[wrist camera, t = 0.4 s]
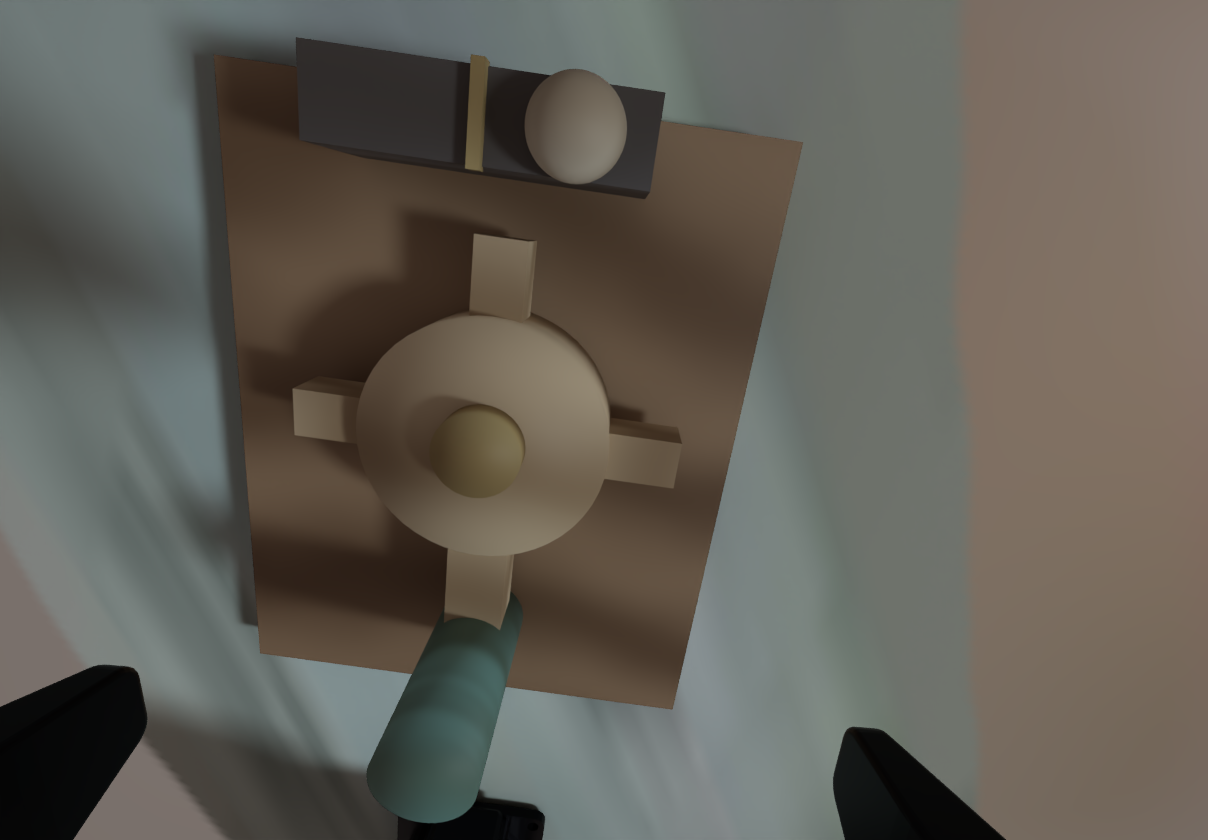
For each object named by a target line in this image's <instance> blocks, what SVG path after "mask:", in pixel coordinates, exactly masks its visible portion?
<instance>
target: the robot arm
mask: <svg viewBox="0 0 1208 840" xmlns="http://www.w3.org/2000/svg"><path fill="white" fill-rule="evenodd" d="M146 725H147V712H146V707H145V702H144V697H143V693H142V688H141V683H140V678H139V675H138V673H137V671H136V670H135V669H134V668H131V667H127V666H115V665H97V666H93V667H91V668H88V669H86V670H83V671H81V672H79V673H77V674H75V675H72V676H70V677H67V678H65V679H63V680H61V681H58V682H56V683H54V684H52V685H49V686H47V687H45V688H42V689H40V690H38V691H36V692H33V693H31V694H29V695H26V696H24V697H22V698H19V699H17V700H15V701H12V702H10V703H8V704H6V705H3V706H1V707H0V840H73V839H74V838H75V836H76V835H77V833H78V831H79V830H80V829H81V827H82V826H83V824H84V823H85V821H86V820H87V818H88V817H89V815H90V814H91V812H92V811H93V809H94V808H95V806H96V805H97V804H98V802H99V801H100V799H101V798H102V796H103V795H104V793H105V792H106V790H107V789H108V787H109V786H110V784H111V783H112V781H113V780H114V778H115V777H116V775H117V774H118V773H119V771H120V769H121V768H122V766H123V765H124V763H125V762H126V760H127V759H128V758H129V756H130V755H131V753H132V752H133V750H134V749H135V747H136V746H137V744H138V743H139V741H140V740H141V738H142V736H143V734H144V732H145V729H146ZM833 790H834V797H835V801H836V805H837V809H838V813H839V817H840V822H841V826H842V830H843V834H844V838H845V840H1006V839H1005V838H1004V837H1002V836H1001V835H1000V834H999V833H998V832H997V831H996V830H995V829H994V828H992V827H991V826H990V825H989V824H988V823H987V822H986V821H984V820H983V819H982V818H981V817H980V816H979V815H978V814H977V813H976V812H975V811H973V810H972V809H971V808H970V807H969V806H968V805H967V804H966V803H964V802H963V801H962V800H961V799H960V798H959V797H958V796H957V795H955V794H954V793H953V792H952V791H951V790H950V789H949V788H948V787H946V786H945V785H944V784H943V783H942V782H941V781H940V780H939V779H937V778H936V777H935V776H934V775H933V774H932V773H931V772H930V771H928V770H927V769H926V768H925V767H924V766H923V765H922V764H921V763H919V762H918V761H917V760H916V759H915V758H914V757H913V756H912V755H911V754H909V753H908V752H907V751H906V750H905V749H904V748H903V747H902V746H900V745H899V744H898V743H897V742H896V741H895V740H894V739H893V738H891V737H890V736H889V735H888V734H887V733H885V732H884V731H882V730H879V729H874V728H863V727H850V728H848V729H847V730H846V732H845V734H844V736H843V740H842V744H841V748H840V752H839V756H838V760H837V764H836V767H835V771H834V776H833ZM544 824H545V816H544V814H543V813H541V812H540V811H537V810H531V809H524V808H517V807H509V806H502V805H494V804H487V803H479V802H474V804H473V805H472V806H471V808H470V809H469V810H468V811H467V812H465V813H464V814H462V815H461V816H459V817H457V818H455V819H452V820H449V821H445V822H439V823H421V822H415V821H411V820H408V819H405V818H402V817H400V816H398V840H542V838H543V831H544Z"/></svg>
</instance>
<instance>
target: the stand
mask: <svg viewBox="0 0 1208 840" xmlns="http://www.w3.org/2000/svg"><path fill="white" fill-rule="evenodd" d="M296 56H297V67H294V66H287V65H281V64H274V63H267V62H260V61H254V60H247V59H240V58H234V57H227V56H220V55H214V64H215V77H216V90H217V103H218V116H219V129H220V142H221V155H222V167H223V180H224V193H225V206H226V219H227V232H228V245H229V258H230V271H231V283H232V296H233V309H234V322H235V335H236V348H237V361H238V374H239V386H240V399H241V412H242V425H243V438H244V451H245V464H246V477H247V489H248V502H249V515H250V528H251V541H252V554H253V567H254V580H255V592H256V605H257V618H258V631H259V644H260V653H262V654H269V655H277V656H284V657H291V658H299V659H306V660H313V661H321V662H328V663H335V664H343V665H350V666H357V667H365V668H372V669H379V670H387V671H394V672H401V673H408V674H412V673H413V671H414V669H415V667H416V665H417V663H418V661H419V659H420V656H421V654H422V652H423V650H424V648H425V646H426V644H427V642H428V640H429V638H430V636H431V634H432V631H433V629H434V627H435V625H436V623H437V621H438V619H439V617H440V615H441V613H442V611H443V608H444V606H445V592H446V574H447V555H448V548H445V547H443V546H440V545H438V544H436V543H434V542H431V541H429V540H427V539H426V538H424V537H422V536H421V535H419V534H417V533H416V532H414V531H413V530H411V529H410V528H409V527H407V526H406V525H405V524H403V523H402V522H401V521H400V520H399V519H398V518H397V517H396V516H395V515H394V514H393V513H392V512H391V511H390V510H389V509H388V508H387V507H386V505H385V504H384V503H383V502H382V501H381V499H380V498H379V496H378V495H377V493H376V492H375V490H374V489H373V487H372V485H371V483H370V481H369V479H368V477H367V475H366V473H365V471H364V468H363V465H362V462H361V459H360V455H359V450H358V446H357V444H354V443H347V442H340V441H333V440H326V439H319V438H312V437H305V436H298V435H295V432H294V410H293V389H292V388H295V387H297V386H299V385H301V384H303V383H305V382H307V381H309V380H312V379H314V378H316V377H318V376H321V377H328V378H335V379H342V380H349V381H356V382H363V383H366V381H367V379H368V377H369V375H370V373H371V372H372V370H373V368H374V367H375V366H376V364H377V363H378V362H379V360H380V359H381V358H382V357H383V355H385V354H386V353H387V352H388V351H389V350H390V349H391V348H392V347H393V346H394V345H395V344H397V343H398V342H399V341H401V340H402V339H404V338H405V337H406V336H408V335H410V334H412V333H414V332H416V331H418V330H420V329H421V328H424V327H426V326H428V325H430V324H432V323H434V322H436V321H438V320H440V319H442V318H444V317H447V316H449V315H451V314H454V313H457V312H460V311H463V310H466V309H470V292H471V275H472V258H473V241H474V234H494V235H501V236H507V237H514V238H521V239H528V240H535V241H537V248H536V259H535V269H534V280H533V290H532V301H531V312H530V313H533V314H536V315H539V316H541V317H543V318H545V319H547V320H549V321H551V322H553V323H554V324H556V325H557V326H559V327H560V328H562V329H563V330H565V331H566V332H567V333H569V334H570V335H571V336H572V337H573V338H574V339H575V340H577V341H578V342H579V343H580V345H581V346H582V347H583V348H584V349H585V350H586V351H587V353H588V354H589V355H590V357H591V358H592V360H593V361H594V363H595V364H596V366H597V368H598V370H599V372H600V374H601V376H602V378H603V381H604V384H605V386H606V389H607V392H608V397H609V402H610V411H611V418H616V419H623V420H630V421H637V422H644V423H651V424H658V425H665V426H672V427H678V430H679V434H680V438H681V441H682V447H681V452H680V457H679V462H678V468H677V473H676V478H675V483H674V488H666V487H659V486H652V485H645V484H638V483H631V482H624V481H617V480H609V479H604V481H603V484H602V486H601V489H600V491H599V494H598V495H597V497H596V499H595V501H594V503H593V504H592V506H591V507H590V509H589V510H588V511H587V513H586V514H585V515H584V516H583V518H582V519H581V520H580V521H579V522H578V523H577V524H576V525H575V526H574V527H573V528H571V529H570V530H569V531H567V532H566V533H565V534H563V535H562V536H561V537H559V538H557V539H555V540H554V541H552V542H550V543H548V544H546V545H544V546H541V547H539V548H536V549H534V550H530V551H527V552H523V553H519V554H514V559H513V569H512V579H511V589H510V591H511V592H512V593H513V594H514V595H515V596H516V597H517V599H518V600H519V602H520V604H521V606H522V610H523V621H522V626H521V629H520V633H519V637H518V641H517V645H516V649H515V652H514V656H513V660H512V664H511V668H510V672H509V675H508V679H507V683H506V687H511V688H518V689H526V690H533V691H540V692H548V693H555V694H562V695H570V696H577V697H584V698H592V699H599V700H606V701H614V702H621V703H628V704H636V705H643V706H650V707H658V708H665V709H673V705H674V701H675V696H676V692H677V688H678V683H679V679H680V675H681V670H682V666H683V661H684V657H685V653H686V648H687V644H688V640H689V635H690V631H691V627H692V622H693V618H694V614H695V609H696V605H697V601H698V596H699V592H700V588H701V583H702V579H703V575H704V570H705V566H706V562H707V557H708V553H709V549H710V544H711V540H712V536H713V531H714V527H715V522H716V518H717V514H718V509H719V505H720V501H721V496H722V492H723V488H724V483H725V479H726V475H727V470H728V466H729V462H730V457H731V453H732V449H733V444H734V440H735V436H736V431H737V427H738V423H739V418H740V414H741V410H742V405H743V401H744V397H745V392H746V388H747V383H748V379H749V375H750V370H751V366H752V362H753V357H754V353H755V349H756V344H757V340H758V336H759V331H760V327H761V323H762V318H763V314H764V310H765V305H766V301H767V297H768V292H769V288H770V284H771V279H772V275H773V271H774V266H775V262H776V258H777V253H778V249H779V244H780V240H781V236H782V231H783V227H784V223H785V218H786V214H787V210H788V205H789V201H790V197H791V192H792V188H793V184H794V179H795V175H796V171H797V166H798V162H799V158H800V153H801V149H802V145H803V142H797V141H791V140H784V139H777V138H771V137H764V136H757V135H750V134H744V133H737V132H730V131H724V130H717V129H710V128H703V127H697V126H690V125H683V124H677V123H670V122H663V121H661V118H662V111H663V105H664V98H665V92H658V91H651V90H645V89H638V88H631V87H625V86H618V85H611V84H609V83H608V82H607V81H605V80H604V79H603V78H601V77H600V76H598V75H596V74H594V73H592V72H589V71H586V70H581V69H567V70H563V71H560V72H557V73H555V74H553V75H544V74H538V73H531V72H524V71H518V70H511V69H504V68H498V67H491V66H489V64H490V62H489V61H488V59H487V58H486V57H485V56H478V55H471V63H464V62H458V61H451V60H444V59H437V58H431V57H424V56H417V55H411V54H404V53H397V52H391V51H384V50H377V49H371V48H364V47H357V46H351V45H344V44H337V43H331V42H324V41H317V40H311V39H304V38H297V37H296Z"/></svg>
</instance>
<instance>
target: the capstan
mask: <svg viewBox="0 0 1208 840" xmlns="http://www.w3.org/2000/svg"><path fill="white" fill-rule="evenodd" d="M536 248H537V241H535V240H528V239H521V238H514V237H507V236H501V235H494V234H474V241H473V258H472V275H471V292H470V309H466V310H463V311H460V312H457V313H454V314H451V315H449V316H447V317H444V318H442V319H440V320H438V321H436V322H434V323H432V324H430V325H428V326H426V327H424V328H421V329H420V330H418V331H416V332H414V333H412V334H410V335H408V336H406V337H405V338H404V339H402V340H401V341H399V342H398V343H397V344H395V345H394V346H393V347H392V348H391V349H390V350H389V351H388V352H387V353H386V354H385V355H383V357H382V358H381V359H380V360H379V362H378V363H377V364H376V366H375V367H374V368H373V370H372V372H371V373H370V375H369V377H368V379H367V381H366V383H363V382H356V381H349V380H342V379H335V378H328V377H321V376H318V377H316V378H314V379H312V380H309V381H307V382H305V383H303V384H301V385H299V386H297V387H295V388H292V389H293V410H294V432H295V435H298V436H305V437H312V438H319V439H326V440H333V441H340V442H347V443H354V444H357V446H358V450H359V455H360V459H361V462H362V465H363V468H364V471H365V473H366V475H367V477H368V479H369V481H370V483H371V485H372V487H373V489H374V490H375V492H376V493H377V495H378V496H379V498H380V499H381V501H382V502H383V503H384V504H385V505H386V507H387V508H388V509H389V510H390V511H391V512H392V513H393V514H394V515H395V516H396V517H397V518H398V519H399V520H400V521H401V522H402V523H403V524H405V525H406V526H407V527H409V528H410V529H411V530H413V531H414V532H416V533H417V534H419V535H421V536H422V537H424V538H426V539H427V540H429V541H431V542H434V543H436V544H438V545H440V546H443V547H445V548H448V555H447V574H446V592H445V606H444V608H443V611H442V613H441V615H440V617H439V619H438V621H437V623H436V625H435V627H434V629H433V631H432V634H431V636H430V638H429V640H428V642H427V644H426V646H425V648H424V650H423V652H422V654H421V656H420V659H419V661H418V663H417V665H416V667H415V669H414V671H413V673H412V675H411V677H410V679H409V682H408V684H407V686H406V688H405V690H404V692H403V694H402V696H401V698H400V700H399V702H398V704H397V707H396V709H395V711H394V713H393V715H392V717H391V719H390V721H389V723H388V725H387V727H386V729H385V732H384V734H383V736H382V738H381V740H380V742H379V744H378V746H377V748H376V750H375V752H374V755H373V757H372V759H371V761H370V763H369V765H368V768H367V783H368V786H369V789H370V791H371V793H372V794H373V796H374V797H375V799H376V800H377V801H378V802H379V803H380V804H381V805H382V806H383V807H385V808H386V809H387V810H389V811H390V812H392V813H393V814H395V815H398V816H400V817H402V818H405V819H408V820H411V821H415V822H421V823H439V822H445V821H449V820H452V819H455V818H457V817H459V816H461V815H462V814H464V813H465V812H467V811H468V810H469V809H470V808H471V806H472V805H473V804H474V802H475V800H476V797H477V794H478V791H479V787H480V783H481V779H482V775H483V771H484V768H485V764H486V760H487V756H488V752H489V748H490V745H491V741H492V737H493V733H494V729H495V725H496V722H497V718H498V714H499V710H500V706H501V702H502V698H503V695H504V691H505V687H506V683H507V679H508V675H509V672H510V668H511V664H512V660H513V656H514V652H515V649H516V645H517V641H518V637H519V633H520V629H521V626H522V621H523V610H522V606H521V604H520V602H519V600H518V599H517V597H516V596H515V595H514V594H513V593H512V592H511V591H510V589H511V579H512V569H513V559H514V554H519V553H523V552H527V551H530V550H534V549H536V548H539V547H541V546H544V545H546V544H548V543H550V542H552V541H554V540H555V539H557V538H559V537H561V536H562V535H563V534H565V533H566V532H567V531H569V530H570V529H571V528H573V527H574V526H575V525H576V524H577V523H578V522H579V521H580V520H581V519H582V518H583V516H584V515H585V514H586V513H587V511H588V510H589V509H590V507H591V506H592V504H593V503H594V501H595V499H596V497H597V495H598V494H599V491H600V489H601V486H602V484H603V481H604V479H609V480H617V481H624V482H631V483H638V484H645V485H652V486H659V487H666V488H674V483H675V478H676V473H677V468H678V462H679V457H680V452H681V447H682V441H681V438H680V434H679V430H678V427H672V426H665V425H658V424H651V423H644V422H637V421H630V420H623V419H616V418H611V411H610V402H609V397H608V392H607V389H606V386H605V384H604V381H603V378H602V376H601V374H600V372H599V370H598V368H597V366H596V364H595V363H594V361H593V360H592V358H591V357H590V355H589V354H588V353H587V351H586V350H585V349H584V348H583V347H582V346H581V345H580V343H579V342H578V341H577V340H575V339H574V338H573V337H572V336H571V335H570V334H569V333H567V332H566V331H565V330H563V329H562V328H560V327H559V326H557V325H556V324H554V323H553V322H551V321H549V320H547V319H545V318H543V317H541V316H539V315H536V314H533V313H530V312H531V301H532V290H533V280H534V269H535V259H536Z"/></svg>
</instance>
